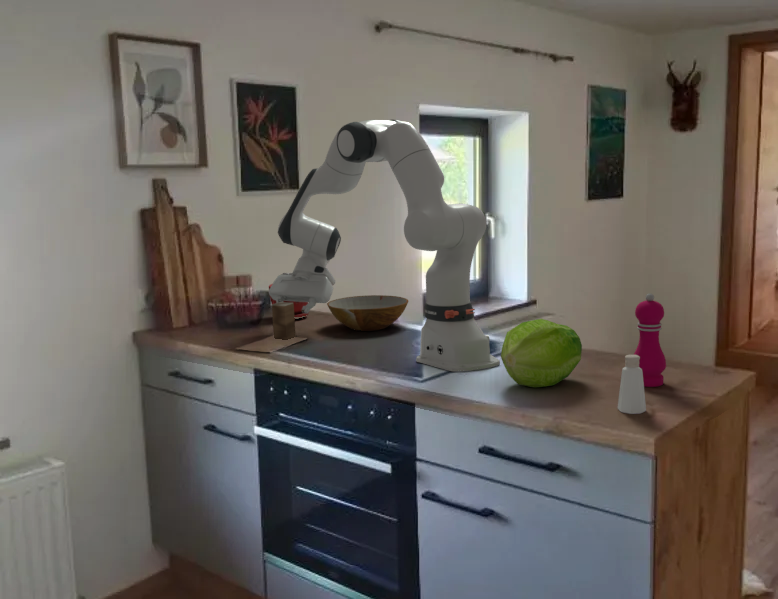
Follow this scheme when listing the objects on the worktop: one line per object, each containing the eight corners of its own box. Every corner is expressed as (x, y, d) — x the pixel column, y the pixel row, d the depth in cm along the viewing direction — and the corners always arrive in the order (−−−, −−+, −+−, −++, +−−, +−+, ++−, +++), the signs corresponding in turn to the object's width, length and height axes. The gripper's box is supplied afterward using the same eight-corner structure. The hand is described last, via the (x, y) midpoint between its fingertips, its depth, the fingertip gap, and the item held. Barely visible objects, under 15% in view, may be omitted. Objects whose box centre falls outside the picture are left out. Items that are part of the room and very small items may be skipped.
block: (295, 337, 237) (293, 302, 235) (286, 340, 233) (284, 305, 231) (283, 336, 239) (280, 301, 238) (273, 339, 235) (271, 304, 234)
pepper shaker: (611, 408, 161) (612, 354, 160) (632, 404, 164) (633, 351, 162) (630, 415, 156) (631, 360, 155) (652, 411, 159) (653, 356, 157)
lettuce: (545, 397, 167) (485, 394, 178) (602, 374, 182) (544, 373, 194) (536, 328, 166) (477, 329, 177) (595, 310, 181) (536, 313, 193)
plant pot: (299, 313, 279) (297, 278, 277) (317, 318, 268) (315, 282, 266) (264, 318, 273) (262, 282, 271) (280, 323, 262) (278, 287, 260)
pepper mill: (627, 379, 182) (628, 291, 179) (660, 378, 182) (661, 290, 178) (636, 388, 175) (637, 296, 171) (670, 387, 175) (672, 295, 171)
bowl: (315, 334, 243) (313, 308, 242) (345, 318, 267) (344, 294, 265) (395, 337, 235) (394, 310, 234) (419, 320, 259) (418, 295, 257)
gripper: (275, 266, 248) (257, 303, 242) (331, 269, 239) (315, 307, 232) (284, 279, 253) (267, 315, 246) (340, 281, 243) (324, 319, 237)
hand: (291, 311), depth 239 cm, fingers open, 8 cm apart
